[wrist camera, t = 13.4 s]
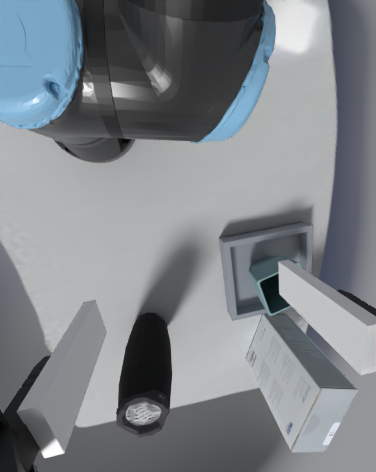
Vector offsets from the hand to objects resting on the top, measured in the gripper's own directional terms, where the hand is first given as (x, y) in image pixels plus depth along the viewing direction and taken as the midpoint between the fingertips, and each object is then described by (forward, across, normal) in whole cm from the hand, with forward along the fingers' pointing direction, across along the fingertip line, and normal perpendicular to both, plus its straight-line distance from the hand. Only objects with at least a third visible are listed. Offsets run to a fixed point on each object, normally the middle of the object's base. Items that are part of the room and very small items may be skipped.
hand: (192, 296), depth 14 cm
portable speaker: (+29, -10, -25) cm, 39 cm away
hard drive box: (+29, +19, -37) cm, 50 cm away
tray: (+29, +19, -16) cm, 38 cm away
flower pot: (+28, +18, -16) cm, 37 cm away
